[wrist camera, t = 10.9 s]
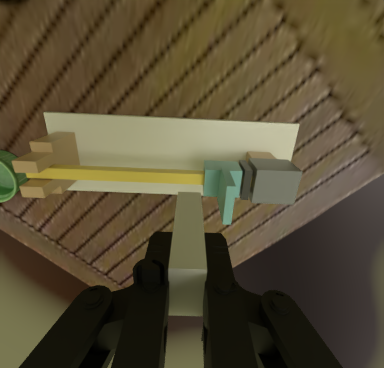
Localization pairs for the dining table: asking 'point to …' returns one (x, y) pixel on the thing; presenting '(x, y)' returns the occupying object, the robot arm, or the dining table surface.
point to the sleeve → (223, 185)
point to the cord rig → (158, 155)
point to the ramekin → (9, 177)
